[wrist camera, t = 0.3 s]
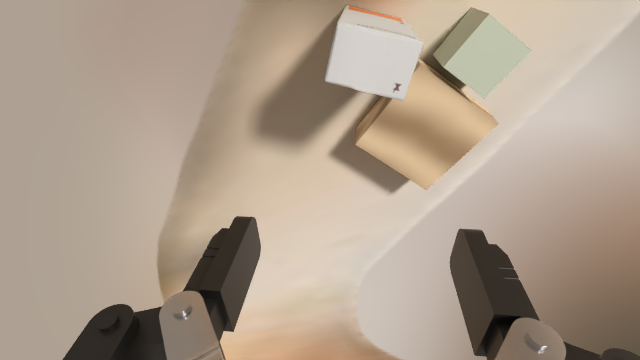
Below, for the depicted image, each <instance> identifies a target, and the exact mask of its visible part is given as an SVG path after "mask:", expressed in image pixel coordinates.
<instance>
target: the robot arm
mask: <svg viewBox="0 0 640 360" xmlns="http://www.w3.org/2000/svg"><path fill="white" fill-rule="evenodd" d="M260 250H261V245H260V239H259V233H258V228H257V223H256V219H255V218H254V217H239V216H237V217H235V218H234V220H233V222H232V224H231V226H230V228H229V229H227V228H222V229H221V230H220V231H219V232H218V233H217V234H215V235H214V236H213V237H212V239H211V241H210V243H209V245H208V246H207V249H206V250H205V252H204V254H203V257H202V258H201V259H200V261H199V263H198V265H197V267H196V268H195V270H194V272H193V274H192V276H191V278H190V279H189V281H188V283H187V285H186V287H185V288H184V290H183V292H180V293H177V294H175V295H174V296H172V297H171V298H169V299H168V300H167V301H166V302H165V303H164V305H163V306H162V307H158V308H154V309H149V310H144V311H140V312H135V313H134V312H133V310H132V308H131V307H130V306H128V305H125V304H117V305H113V306H110V307H107V308H105V309H103V310H102V311H100V312H99V313H98V314H96V315H95V316H94V317H93V318H92V319H91V320H90V321H89V323H88V324H87V326H86V327H85V328H84V330H83V331H82V333H81V334H80V336H79V337H78V338H77V340H76V341H75V343H74V344H73V346H72V347H71V349H70V350H69V351H68V353H67V354H66V356H65V357H64V358H63V360H226V359H225V356H224V353H223V350H222V347H221V344H220V339H221V337H222V334H223V331H231V332H234V329H235V326H236V323H237V320H238V317H239V314H240V312H241V309H242V306H243V303H244V300H245V297H246V294H247V292H248V289H249V286H250V283H251V280H252V277H253V275H254V272H255V269H256V266H257V263H258V260H259V257H260ZM450 269H451V274H452V277H453V281H454V285H455V288H456V292H457V295H458V298H459V302H460V306H461V309H462V312H463V316H464V319H465V323H466V327H467V330H468V334H469V337H470V341H471V344H472V348H473V351H474V355H476V356H486V357H487V360H640V357H639V356H638V355H636V354H634V353H631V352H629V351H626V350H623V349H617V348H613V349H608V350H606V351H604V352H603V353H602V354H601V355H598V354H595V353H593V352H590V351H587V350H584V349H581V348H578V347H576V346H573V345H570V344H568V343H566V342H564V341H563V340H562V339H561V337H560V336H559V335H558V334H557V333H556V332H555V331H554V330H553V329H552V328H551V327H549V326H548V325H546V324H545V323H543V322H541V321H540V320H539V318H538V316H537V314H536V312H535V310H534V308H533V306H532V304H531V302H530V300H529V298H528V296H527V294H526V292H525V290H524V288H523V286H522V284H521V282H520V280H519V279H518V275H517V274H516V272H515V270H514V267H513V265H512V263H511V261H510V259H509V257H508V255H507V254H505V253H504V252H503V251H502V250H501V249H500V248H499V247H498V246H497V245H494V244H488V242H487V240H486V237H485V235H484V233H483V231H482V230H472V229H459V231H458V233H457V236H456V240H455V243H454V246H453V250H452V253H451V257H450Z"/></svg>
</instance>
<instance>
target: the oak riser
mask: <svg viewBox="0 0 640 360" xmlns="http://www.w3.org/2000/svg"><path fill="white" fill-rule="evenodd" d="M498 124H499V123H498V122H497V121H496V120H495V119H494V118H493V117H492V115H491V114H490V113H489V112H488V111H487V110H486V109H485V108H484V107H483V106H481V105H480V104H479V103H477V102H476V101H475V100H474V99H472V98H471V97H470V96H468V95H467V94H466V93H464V92H463V91H462V90H460V89H459V88H458V87H456V86H455V85H454V84H452V83H451V82H450V81H449V80H447V79H446V78H445V77H443V76H442V75H441V74H439V73H438V72H437V71H435V70H434V69H433V68H431V67H430V66H429V65H428V64H426V63H425V62H424V61H422V60H421V59H420V58H419V59H418V61H417V64H416V67H415V70H414V73H413V76H412V79H411V82H410V84H409V87H408V90H407V93H406V96H405V99H404V100H403V101H401V100H397V99H392V98H388V97H383V96H381V97H380V99H379V100H378V101H377V102H376V104H375V105H374V106H373V108H372V109H371V110H370V111H369V113H368V114H367V115H366V116H365V118H364V119H363V120H362V121H361V123H360V124H359V125H358V127H357V128H356V138H355V145H357V146H358V147H360V148H361V149H363V150H365V151H366V152H368V153H369V154H371V155H372V156H374V157H376V158H377V159H379V160H380V161H382V162H383V163H385V164H386V165H388V166H390V167H391V168H393V169H394V170H396V171H397V172H399V173H400V174H402V175H404V176H405V177H407V178H408V179H410V180H411V181H413V182H415V183H416V184H418V185H419V186H421V187H422V188H424V189H425V190H427V189H428V188H429V187H430V186H431V185H433V184H434V183H435V182H436V181H437V180H438V179H439V178H440V177H441V176H442V175H443V174H445V173H446V172H447V171H448V170H449V169H450V168H451V167H452V166H453V165H454V164H455V163H457V162H458V161H459V160H460V159H461V158H462V157H463V156H464V155H465V154H466V153H467V152H469V151H470V150H471V149H472V148H473V147H474V146H475V145H476V144H477V143H478V142H479V141H480V140H482V139H483V138H484V137H485V136H486V135H487V134H488V133H489V132H490V131H491V130H492V129H494V128H495V127H496V126H497V125H498Z"/></svg>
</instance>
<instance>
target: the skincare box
mask: <svg viewBox="0 0 640 360" xmlns="http://www.w3.org/2000/svg"><path fill="white" fill-rule="evenodd" d="M423 44H424V43H423V41H422V40H421V39H420V38H419V36H418V35H417V34H416V33H415V32H414V30H413V29H412V28H411V27H410V25H409V24H408V23H407V22H406V21H405V19H402V18H397V17H393V16H388V15H384V14H379V13H375V12H371V11H367V10H364V9H360V8H356V7H353V6H349V5H346V6H345V8H344V10H343V12H342V14H341V16H340V18H339V20H338V22H337V25H336V29H335V33H334V38H333V42H332V46H331V51H330V55H329V60H328V64H327V69H326V73H325V78H324V80H325V82H327V83H331V84H335V85H339V86H343V87H347V88H351V89H355V90H357V91H360V92H364V93H369V94H375V95H379V96H383V97H388V98H392V99H397V100H401V101H403V100H404V99H405V96H406V93H407V90H408V87H409V84H410V82H411V79H412V76H413V73H414V70H415V67H416V64H417V61H418V59H419V56H420V53H421V50H422V47H423Z"/></svg>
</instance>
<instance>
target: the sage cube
mask: <svg viewBox="0 0 640 360" xmlns="http://www.w3.org/2000/svg"><path fill="white" fill-rule="evenodd" d="M531 52H532V50H531V49H530V48H529V47H527V46H526V45H525V44H524V43H523V42H522V41H520V40H519V39H518V38H517V37H516V36H515V35H513V34H512V33H511V32H510V31H509V30H508V29H506V28H505V27H504V26H503V25H502V24H501V23H499V22H498V21H497V20H496V19H495V18H494V17H493V16H491V15H490V14H488V13H486V12H483V11H480V10H477V9H475V8H472V7H471V9H470V10H469V11H468V12H467V13H466V15H465V16H464V17H463V18H462V20H461V21H460V22H459V23H458V24H457V26H456V27H455V28H454V29H453V30H452V32H451V33H450V34H449V35H448V37H447V38H446V39H445V40H444V41H443V43H442V44H441V45H440V46H439V47H438V49H437V50H436V51H435V52H434V53H433V55H434V57H435V58H436V59H437V60H438V61H439V63H440V64H441V65H442V66H443V67H444V68H445V69H446V70H448V71H449V72H450V73H451V74H453V75H454V76H455V77H457V78H458V79H459V80H461V81H462V82H463V83H464V84H466V85H467V86H468V87H470V88H471V89H472V90H473V91H475V92H476V93H477V94H479V95H480V96H481V97H483V98H485V97H486V96H487V95H488V94H489V93H490V92H492V91H493V90H494V89H495V88H496V87H497V86H498V85H499V84H500V83H501V82H502V81H503V80H504V79H505V78H506V77H507V76H508V75H509V74H510V73H511V72H512V71H513V70H514V69H515V68H516V67H517V66H518V65H519V64H520V63H521V62H522V61H523V60H524V59H525V58H526V57H527V56H528V55H529V54H530V53H531Z"/></svg>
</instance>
